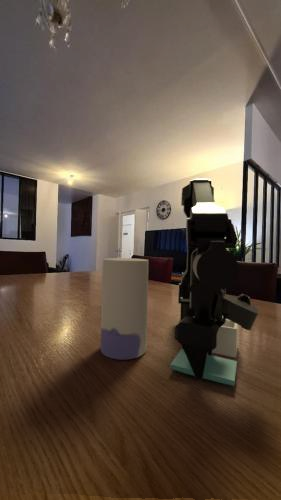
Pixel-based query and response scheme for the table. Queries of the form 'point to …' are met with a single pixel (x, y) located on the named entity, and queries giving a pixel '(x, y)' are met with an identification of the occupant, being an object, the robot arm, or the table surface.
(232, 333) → the storage box
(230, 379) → the lid
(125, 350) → the container
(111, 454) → the table surface
